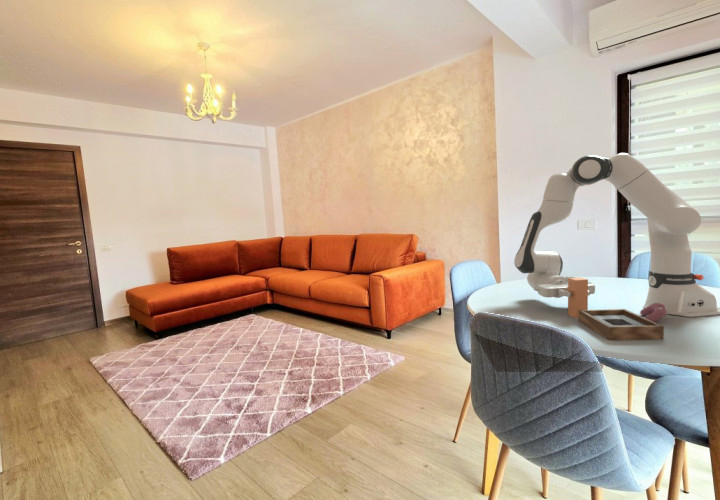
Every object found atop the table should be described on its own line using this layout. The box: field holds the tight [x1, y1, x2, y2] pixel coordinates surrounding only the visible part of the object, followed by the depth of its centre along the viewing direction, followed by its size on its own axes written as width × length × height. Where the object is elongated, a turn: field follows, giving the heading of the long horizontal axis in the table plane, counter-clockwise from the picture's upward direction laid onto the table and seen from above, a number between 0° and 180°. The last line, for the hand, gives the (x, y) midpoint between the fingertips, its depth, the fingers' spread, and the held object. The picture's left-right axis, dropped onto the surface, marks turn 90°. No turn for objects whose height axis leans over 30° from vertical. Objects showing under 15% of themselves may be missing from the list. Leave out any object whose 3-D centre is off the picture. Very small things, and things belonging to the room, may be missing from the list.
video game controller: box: [639, 303, 668, 323], centre depth 118 cm, size 10×5×7 cm, turn 149°
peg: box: [567, 276, 589, 319], centre depth 126 cm, size 4×4×14 cm
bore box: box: [578, 308, 665, 341], centre depth 111 cm, size 15×18×4 cm
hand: (579, 294), depth 125 cm, fingers open, 5 cm apart
